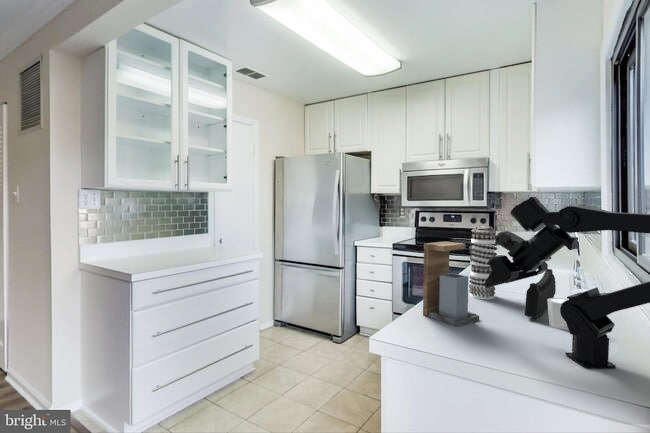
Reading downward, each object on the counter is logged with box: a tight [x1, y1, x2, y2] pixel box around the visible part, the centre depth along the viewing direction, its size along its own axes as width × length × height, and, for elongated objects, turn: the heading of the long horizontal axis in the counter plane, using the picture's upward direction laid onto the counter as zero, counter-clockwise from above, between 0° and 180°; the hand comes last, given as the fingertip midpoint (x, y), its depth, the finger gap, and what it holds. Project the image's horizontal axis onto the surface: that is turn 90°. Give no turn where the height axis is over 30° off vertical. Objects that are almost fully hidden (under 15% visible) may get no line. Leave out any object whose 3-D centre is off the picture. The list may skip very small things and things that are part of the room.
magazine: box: [524, 268, 557, 319], centre depth 114 cm, size 17×3×30 cm
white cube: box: [547, 297, 569, 331], centre depth 99 cm, size 7×7×7 cm
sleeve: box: [439, 272, 470, 320], centre depth 105 cm, size 6×6×12 cm
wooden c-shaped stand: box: [422, 241, 480, 328], centre depth 106 cm, size 12×10×22 cm
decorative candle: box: [468, 225, 499, 301], centre depth 129 cm, size 9×9×25 cm
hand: (495, 283), depth 95 cm, fingers open, 9 cm apart
